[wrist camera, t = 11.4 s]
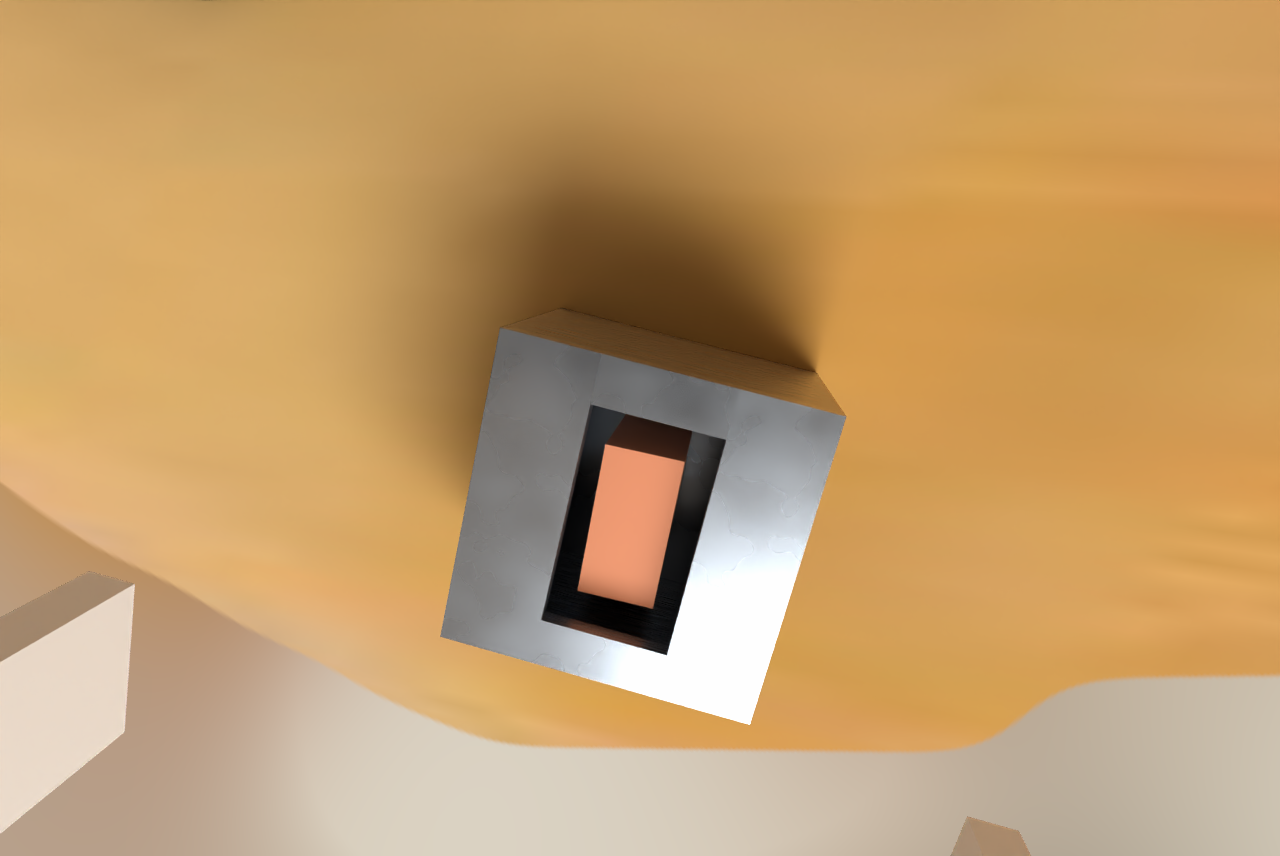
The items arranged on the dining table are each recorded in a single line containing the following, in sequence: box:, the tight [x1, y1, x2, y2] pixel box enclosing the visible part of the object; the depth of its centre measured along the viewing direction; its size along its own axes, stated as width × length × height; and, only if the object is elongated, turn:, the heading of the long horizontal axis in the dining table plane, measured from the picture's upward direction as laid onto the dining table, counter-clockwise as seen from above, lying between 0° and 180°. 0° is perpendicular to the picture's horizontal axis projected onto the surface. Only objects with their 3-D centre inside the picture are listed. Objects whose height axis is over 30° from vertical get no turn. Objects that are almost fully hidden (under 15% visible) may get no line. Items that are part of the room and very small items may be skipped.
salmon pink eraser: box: [577, 414, 692, 609], centre depth 27 cm, size 2×5×6 cm, turn 169°
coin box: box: [440, 308, 846, 725], centre depth 27 cm, size 10×10×8 cm
